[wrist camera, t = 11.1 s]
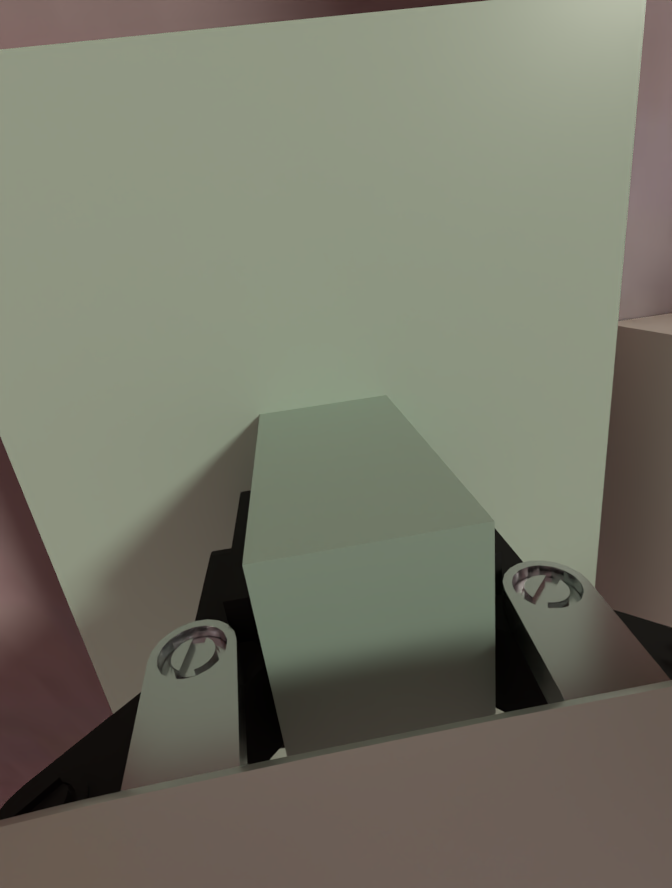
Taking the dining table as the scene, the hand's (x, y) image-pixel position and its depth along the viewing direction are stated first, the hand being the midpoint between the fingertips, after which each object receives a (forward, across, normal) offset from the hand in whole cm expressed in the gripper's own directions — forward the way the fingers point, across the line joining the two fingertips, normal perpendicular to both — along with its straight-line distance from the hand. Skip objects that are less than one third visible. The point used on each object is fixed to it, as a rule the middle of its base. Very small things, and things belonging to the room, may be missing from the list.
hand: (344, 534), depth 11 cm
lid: (+4, 0, 0) cm, 4 cm away
